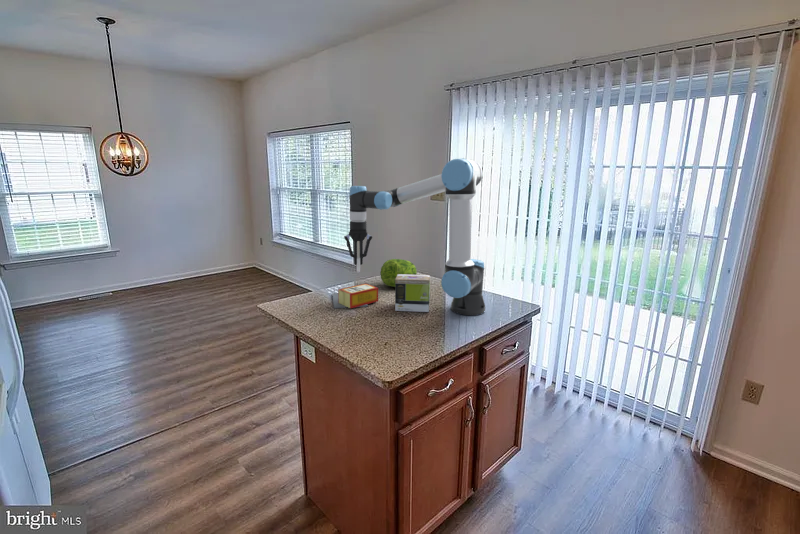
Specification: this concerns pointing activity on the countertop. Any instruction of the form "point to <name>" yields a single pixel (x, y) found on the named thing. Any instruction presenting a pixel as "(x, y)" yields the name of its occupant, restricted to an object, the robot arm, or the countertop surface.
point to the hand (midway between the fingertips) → (358, 271)
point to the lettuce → (396, 270)
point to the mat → (338, 305)
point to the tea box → (412, 292)
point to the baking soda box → (357, 295)
